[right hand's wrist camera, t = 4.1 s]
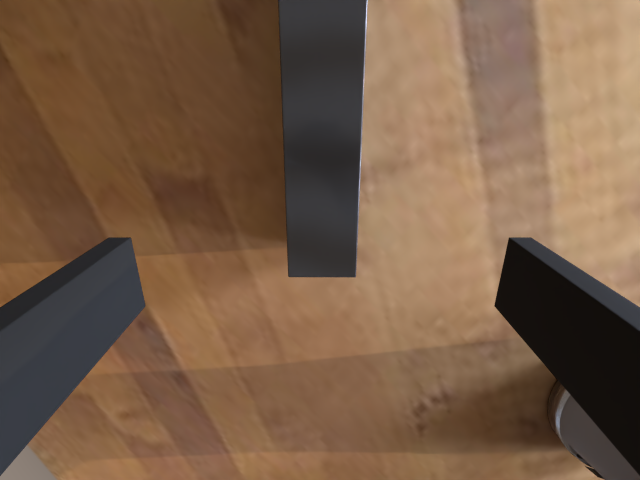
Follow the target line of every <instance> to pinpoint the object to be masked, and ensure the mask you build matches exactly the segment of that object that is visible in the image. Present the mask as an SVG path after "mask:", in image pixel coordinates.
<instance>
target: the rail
mask: <svg viewBox="0 0 640 480" xmlns="http://www.w3.org/2000/svg"><path fill="white" fill-rule="evenodd" d="M367 2H368V0H278V7H279V34H280V62H281V89H282V116H283V144H284V171H285V199H286V226H287V253H288V276H289V277H356V264H357V240H358V216H359V192H360V169H361V145H362V121H363V97H364V73H365V49H366V26H367Z"/></svg>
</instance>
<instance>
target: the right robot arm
mask: <svg viewBox="0 0 640 480" xmlns="http://www.w3.org/2000/svg"><path fill="white" fill-rule="evenodd" d="M144 307H145V301H144V296H143V292H142V287H141V282H140V278H139V273H138V268H137V264H136V259H135V254H134V250H133V245H132V240H131V238H108V239H106V240H104V241H103V242H101V243H100V244H98V245H97V246H95V247H94V248H92V249H90V250H89V251H87V252H86V253H84V254H83V255H81V256H80V257H78V258H76V259H75V260H73V261H72V262H70V263H69V264H67V265H66V266H64V267H62V268H61V269H59V270H58V271H56V272H55V273H53V274H52V275H50V276H48V277H47V278H45V279H44V280H42V281H41V282H39V283H38V284H36V285H34V286H33V287H31V288H30V289H28V290H27V291H25V292H24V293H22V294H20V295H19V296H17V297H16V298H14V299H13V300H11V301H10V302H8V303H6V304H5V305H3V306H2V307H0V476H1V474H2V473H3V472H4V471H5V470H6V469H7V467H8V466H9V465H10V464H11V463H12V462H13V460H14V459H15V458H16V457H17V456H18V455H19V453H20V452H21V451H22V450H23V449H24V448H25V446H26V445H27V444H28V443H29V442H30V441H31V439H32V438H33V437H34V436H35V435H36V434H37V432H38V431H39V430H40V429H41V428H42V427H43V425H44V424H45V423H46V422H47V421H48V419H49V418H50V417H51V416H52V415H53V414H54V412H55V411H56V410H57V409H58V408H59V407H60V405H61V404H62V403H63V402H64V401H65V400H66V398H67V397H68V396H69V395H70V394H71V393H72V391H73V390H74V389H75V388H76V387H77V386H78V384H79V383H80V382H81V381H82V380H83V379H84V377H85V376H86V375H87V374H88V373H89V372H90V370H91V369H92V368H93V367H94V366H95V365H96V363H97V362H98V361H99V360H100V359H101V357H102V356H103V355H104V354H105V353H106V352H107V350H108V349H109V348H110V347H111V346H112V345H113V343H114V342H115V341H116V340H117V339H118V338H119V336H120V335H121V334H122V333H123V332H124V331H125V329H126V328H127V327H128V326H129V325H130V324H131V322H132V321H133V320H134V319H135V318H136V317H137V315H138V314H139V313H140V312H141V311H142V310H143V308H144ZM495 307H496V308H497V310H498V311H499V312H500V313H501V314H502V315H503V317H504V318H505V319H506V320H507V321H508V322H509V324H510V325H511V326H512V327H513V328H514V329H515V331H516V332H517V333H518V334H519V335H520V336H521V338H522V339H523V340H524V341H525V342H526V343H527V345H528V346H529V347H530V348H531V349H532V350H533V352H534V353H535V354H536V355H537V356H538V357H539V359H540V360H541V361H542V362H543V363H544V365H545V366H546V367H547V368H548V369H549V370H550V372H551V373H552V374H553V375H554V376H555V377H556V379H557V382H556V384H555V385H554V387H553V389H552V392H551V394H550V397H549V401H548V419H549V422H550V424H551V427H552V428H553V430H554V431H555V433H556V434H557V436H558V437H559V439H560V440H561V441H562V443H563V444H564V446H565V447H566V448H567V449H568V451H569V452H570V453H571V454H573V455H574V456H575V457H577V458H578V459H579V460H580V461H582V462H583V463H585V464H586V465H588V466H590V467H592V468H594V469H592V468H589V467H587V468H588V469H589V470H590V471H591V472H593V473H594V474H595V475H596V476H597V477H599V478H603V479H605V480H640V307H638V306H637V305H635V304H634V303H632V302H630V301H629V300H627V299H626V298H624V297H623V296H621V295H620V294H618V293H616V292H615V291H613V290H612V289H610V288H609V287H607V286H606V285H604V284H602V283H601V282H599V281H598V280H596V279H595V278H593V277H592V276H590V275H588V274H587V273H585V272H584V271H582V270H581V269H579V268H578V267H576V266H574V265H573V264H571V263H570V262H568V261H567V260H565V259H564V258H562V257H560V256H559V255H557V254H556V253H554V252H553V251H551V250H550V249H548V248H546V247H545V246H543V245H542V244H540V243H539V242H537V241H536V240H534V239H532V238H509V240H508V245H507V250H506V254H505V259H504V264H503V268H502V273H501V278H500V282H499V287H498V292H497V296H496V301H495ZM585 467H586V466H585Z"/></svg>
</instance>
